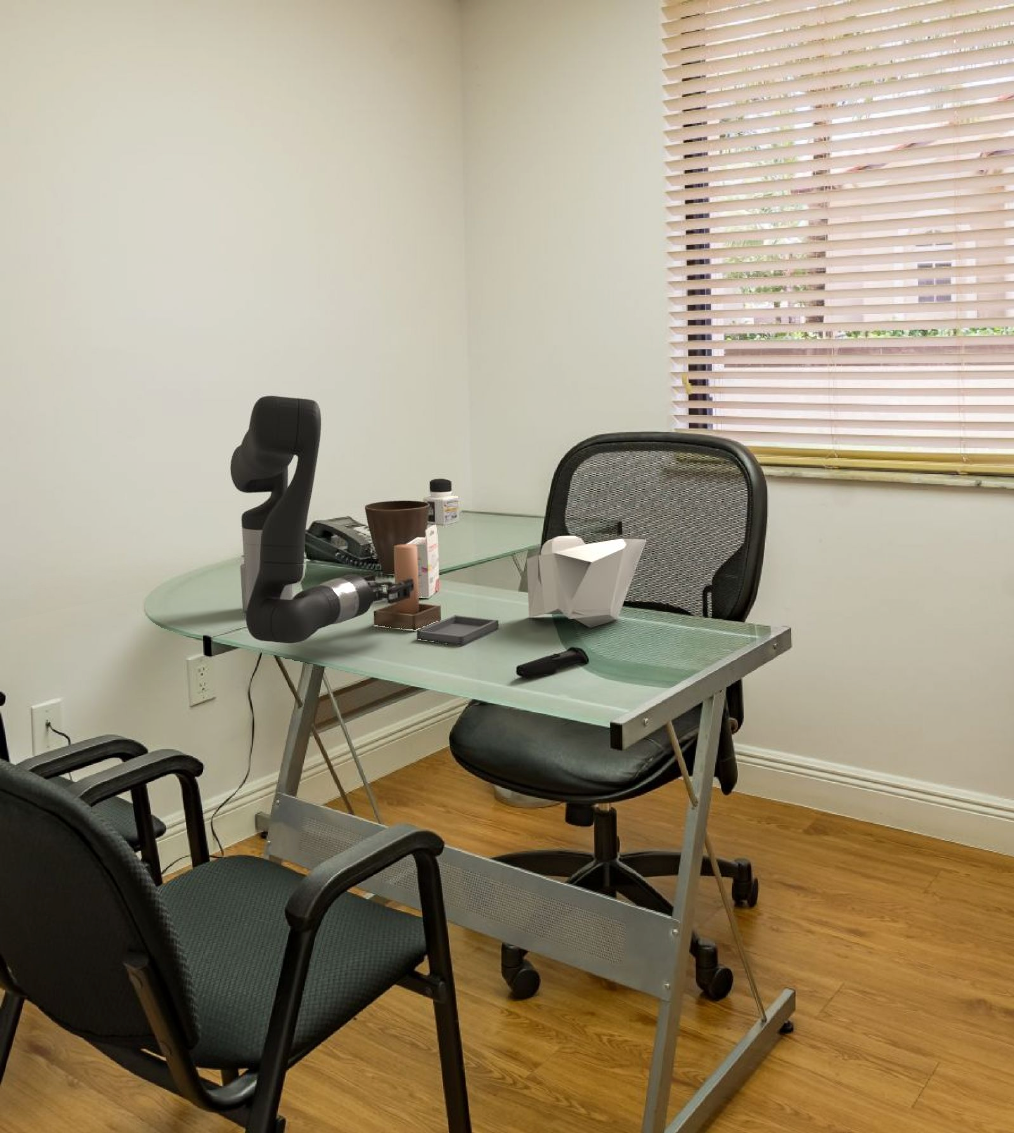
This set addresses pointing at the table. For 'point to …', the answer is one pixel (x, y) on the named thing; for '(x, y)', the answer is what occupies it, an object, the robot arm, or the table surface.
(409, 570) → the dowel
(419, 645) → the table surface
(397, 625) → the wooden square frame
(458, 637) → the desk tray
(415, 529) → the plant pot
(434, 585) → the ink cartridge box
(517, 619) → the table surface
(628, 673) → the table surface
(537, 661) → the electric trimmer
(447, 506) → the container
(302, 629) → the robot arm
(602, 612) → the folded paper
